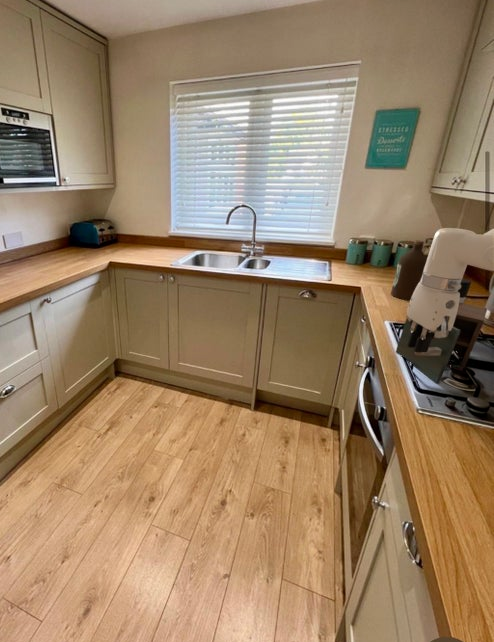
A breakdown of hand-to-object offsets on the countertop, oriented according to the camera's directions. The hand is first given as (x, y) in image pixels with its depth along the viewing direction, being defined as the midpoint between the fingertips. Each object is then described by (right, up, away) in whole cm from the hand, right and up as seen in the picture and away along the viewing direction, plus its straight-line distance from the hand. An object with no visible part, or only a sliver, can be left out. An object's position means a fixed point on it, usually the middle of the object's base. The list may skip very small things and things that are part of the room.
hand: (416, 348), depth 85 cm
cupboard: (+16, -4, +16) cm, 23 cm away
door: (+3, -6, +9) cm, 11 cm away
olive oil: (+38, +15, +63) cm, 75 cm away
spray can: (+28, +1, +29) cm, 40 cm away
